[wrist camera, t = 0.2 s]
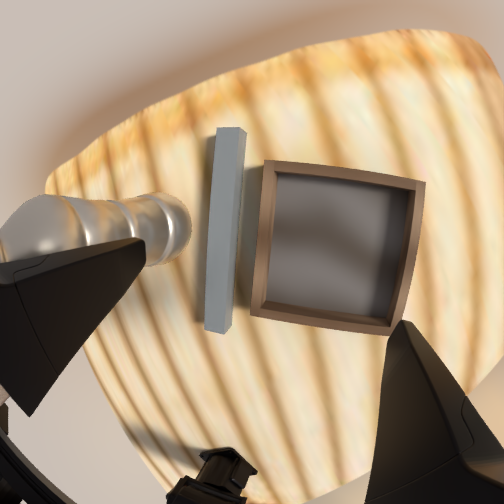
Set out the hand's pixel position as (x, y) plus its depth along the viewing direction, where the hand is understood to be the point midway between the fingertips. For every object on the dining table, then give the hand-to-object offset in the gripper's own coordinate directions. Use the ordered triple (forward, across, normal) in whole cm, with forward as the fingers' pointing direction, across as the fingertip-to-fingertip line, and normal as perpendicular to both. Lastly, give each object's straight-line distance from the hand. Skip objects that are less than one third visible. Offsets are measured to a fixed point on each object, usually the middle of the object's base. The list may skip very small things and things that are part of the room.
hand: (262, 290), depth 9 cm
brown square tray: (+15, -3, +4) cm, 16 cm away
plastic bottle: (+14, +12, +7) cm, 20 cm away
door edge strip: (+14, +7, +6) cm, 17 cm away
